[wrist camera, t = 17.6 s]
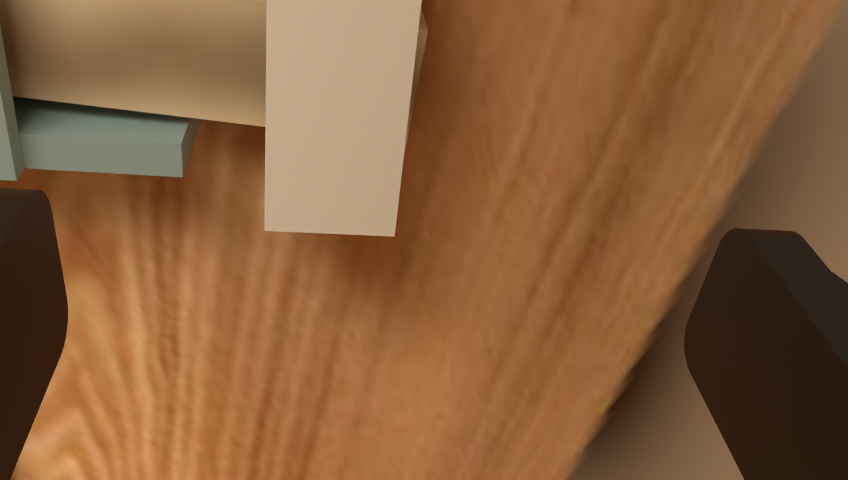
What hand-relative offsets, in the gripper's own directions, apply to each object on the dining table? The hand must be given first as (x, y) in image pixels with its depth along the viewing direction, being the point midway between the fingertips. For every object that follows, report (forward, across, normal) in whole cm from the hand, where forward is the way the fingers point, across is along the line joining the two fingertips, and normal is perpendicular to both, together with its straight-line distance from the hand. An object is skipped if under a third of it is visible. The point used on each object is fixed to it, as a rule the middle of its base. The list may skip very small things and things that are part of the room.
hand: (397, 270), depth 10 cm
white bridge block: (+26, 0, +6) cm, 27 cm away
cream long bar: (+26, +6, +7) cm, 28 cm away
